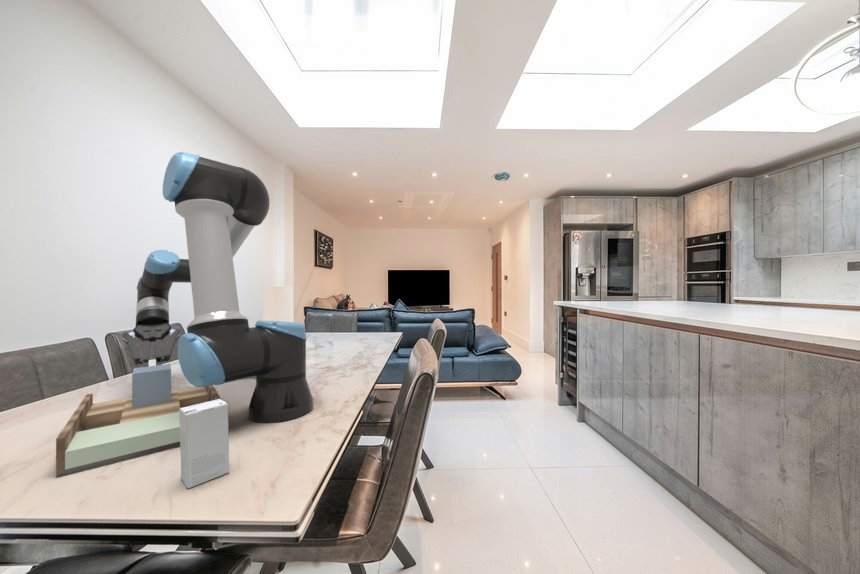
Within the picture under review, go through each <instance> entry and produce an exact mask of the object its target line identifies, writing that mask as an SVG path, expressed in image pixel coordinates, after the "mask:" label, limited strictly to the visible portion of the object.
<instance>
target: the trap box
mask: <svg viewBox="0 0 860 574" xmlns="http://www.w3.org/2000/svg"><path fill="white" fill-rule="evenodd" d="M217 399H221V400H222V398H221V397H220V395H219V393H218V391H217V390H216V388H215V385H212V386H207V387H196V386H194V387H187V388H181V389H175V390H171V402H166V403H161V404H155V405H149V406H144V407H138V408H133V409H132V397H125V398H121V399H115V400H110V401H103V402H97V403H94V394H93V393H87V394H86V395H85V396H84V398H83V399H82V401H81V402H80V403H79V405H78V406H77V408H76V409H75V411H74V412H73V414H72V415H71V417H70V418H69V420H67V422H66V424H65V425H64V427H63V428H62V430H61V431H60V433H59V434H58V435H57V436H56V438H55V478H56V479H57V478H60V477H64V476H69V475H72V474H76V473H80V472H84V471H89V470H92V469H96V468H100V467H104V466H108V465H111V464H112V465H113V464H115V463H119V462H124V461H128V460H131V459H136V458H139V457H143V456H148V455H150V454H157V453H160V452H163V451H168V450H171V449H175V448H180V442H176V443H171V444H167V445H163V446H159V447H155V448H151V449H147V450H143V451H139V452H135V453H131V454H127V455H122V456H118V457H114V458H110V459H106V460H102V461H98V462H94V463H90V464H86V465H82V466H78V467H73V468H69V469H65V451H66V450H67V448H68V446H69V444H70V443H71V441H72V439H73V437H74V436H75V434H76V432H80V431H85V430H90V429H95V428H100V427H105V426H110V425H115V424H120V423H125V422H131V421H136V420H141V419H146V418H151V417H156V416H161V415H166V414H171V413H176V412H179V409H180V408H183V407H188V406H192V405H196V404H200V403H204V402H209V401H213V400H217Z"/></svg>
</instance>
